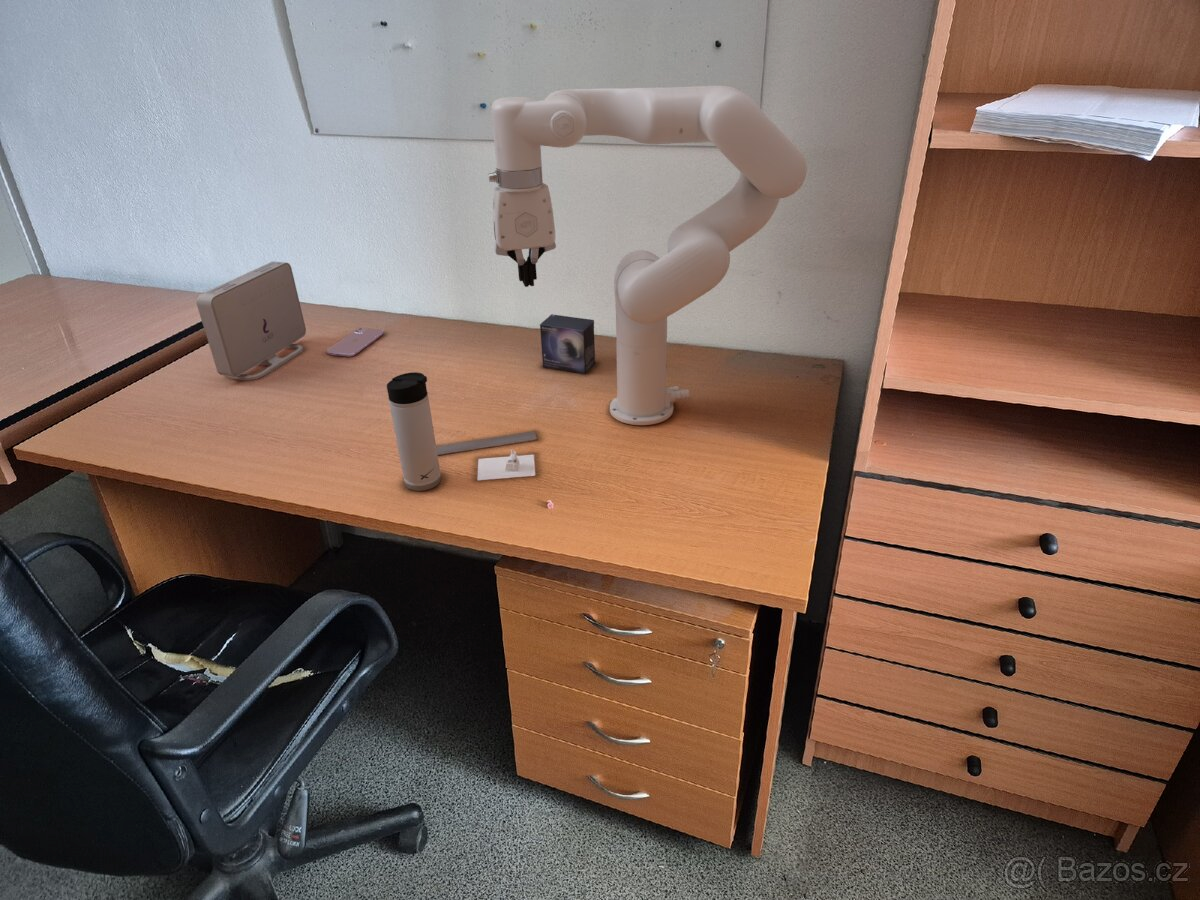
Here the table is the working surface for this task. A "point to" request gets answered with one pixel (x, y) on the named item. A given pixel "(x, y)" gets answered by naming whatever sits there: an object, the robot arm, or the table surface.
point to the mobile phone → (355, 342)
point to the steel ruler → (486, 443)
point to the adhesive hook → (506, 467)
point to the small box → (568, 343)
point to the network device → (253, 320)
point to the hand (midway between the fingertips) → (528, 283)
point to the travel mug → (414, 431)
